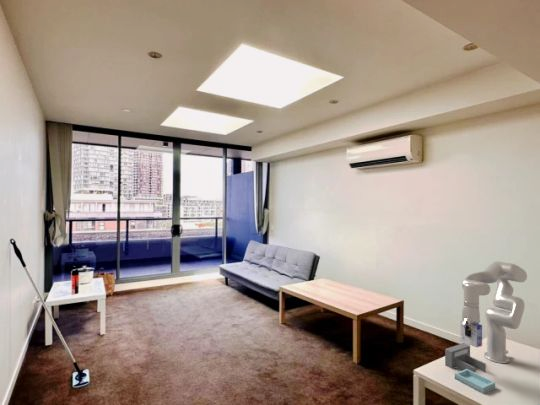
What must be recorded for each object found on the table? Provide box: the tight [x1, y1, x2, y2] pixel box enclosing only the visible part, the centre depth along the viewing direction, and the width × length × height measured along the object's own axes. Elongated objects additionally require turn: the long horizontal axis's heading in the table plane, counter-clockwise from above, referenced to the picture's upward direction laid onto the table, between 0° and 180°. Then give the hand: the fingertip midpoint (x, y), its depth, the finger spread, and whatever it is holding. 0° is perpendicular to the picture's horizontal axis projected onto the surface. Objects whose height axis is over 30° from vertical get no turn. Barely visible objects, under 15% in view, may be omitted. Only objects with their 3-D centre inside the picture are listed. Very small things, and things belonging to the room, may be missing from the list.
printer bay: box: [444, 342, 487, 373], centre depth 183 cm, size 18×15×10 cm
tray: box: [454, 369, 496, 394], centre depth 168 cm, size 11×15×3 cm
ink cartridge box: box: [459, 320, 483, 348], centre depth 179 cm, size 10×6×14 cm, turn 26°
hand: (471, 335), depth 179 cm, fingers closed on ink cartridge box, 5 cm apart
